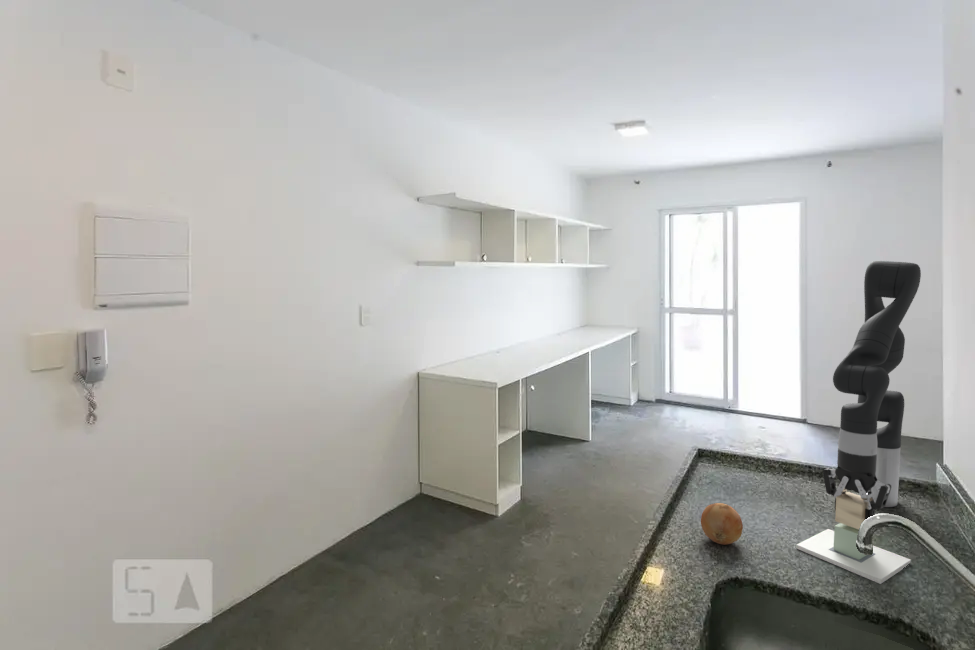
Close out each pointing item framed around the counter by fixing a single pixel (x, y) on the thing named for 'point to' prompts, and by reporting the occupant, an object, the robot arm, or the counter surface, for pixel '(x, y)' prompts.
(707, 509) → the onion
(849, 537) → the sage block
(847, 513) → the beech block
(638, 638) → the counter surface
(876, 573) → the baseplate
